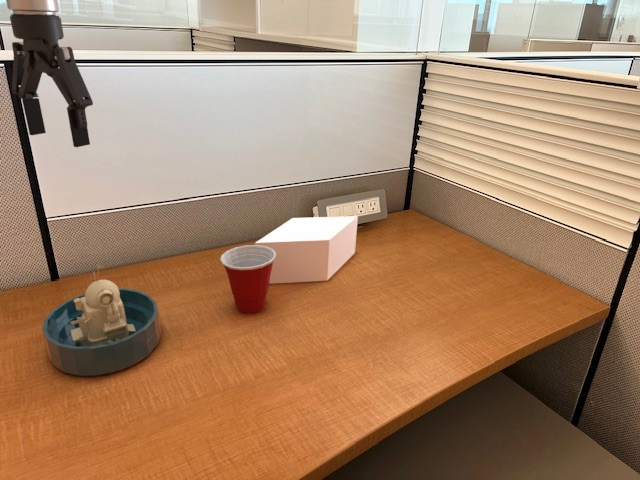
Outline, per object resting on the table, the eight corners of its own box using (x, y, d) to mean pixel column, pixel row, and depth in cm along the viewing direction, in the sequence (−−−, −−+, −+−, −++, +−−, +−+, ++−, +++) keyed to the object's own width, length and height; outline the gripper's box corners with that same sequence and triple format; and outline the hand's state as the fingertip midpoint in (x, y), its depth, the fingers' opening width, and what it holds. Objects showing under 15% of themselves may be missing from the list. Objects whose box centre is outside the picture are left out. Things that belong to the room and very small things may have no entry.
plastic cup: (245, 287, 105) (244, 237, 100) (286, 302, 100) (287, 251, 95) (211, 309, 97) (208, 257, 92) (254, 327, 92) (252, 273, 87)
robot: (79, 363, 80) (62, 286, 73) (71, 337, 86) (55, 264, 79) (143, 343, 85) (133, 269, 79) (131, 320, 91) (121, 250, 85)
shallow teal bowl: (27, 351, 83) (19, 323, 80) (117, 304, 97) (112, 278, 94) (94, 394, 74) (88, 363, 72) (181, 335, 89) (179, 308, 86)
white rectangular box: (240, 271, 112) (238, 230, 107) (337, 242, 128) (339, 206, 123) (273, 299, 101) (273, 256, 97) (374, 264, 117) (378, 226, 113)
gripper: (102, 17, 77) (120, 146, 86) (15, 11, 89) (39, 126, 98) (58, 16, 71) (82, 155, 80) (-29, 10, 83) (1, 132, 92)
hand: (59, 139), depth 89 cm, fingers open, 13 cm apart
